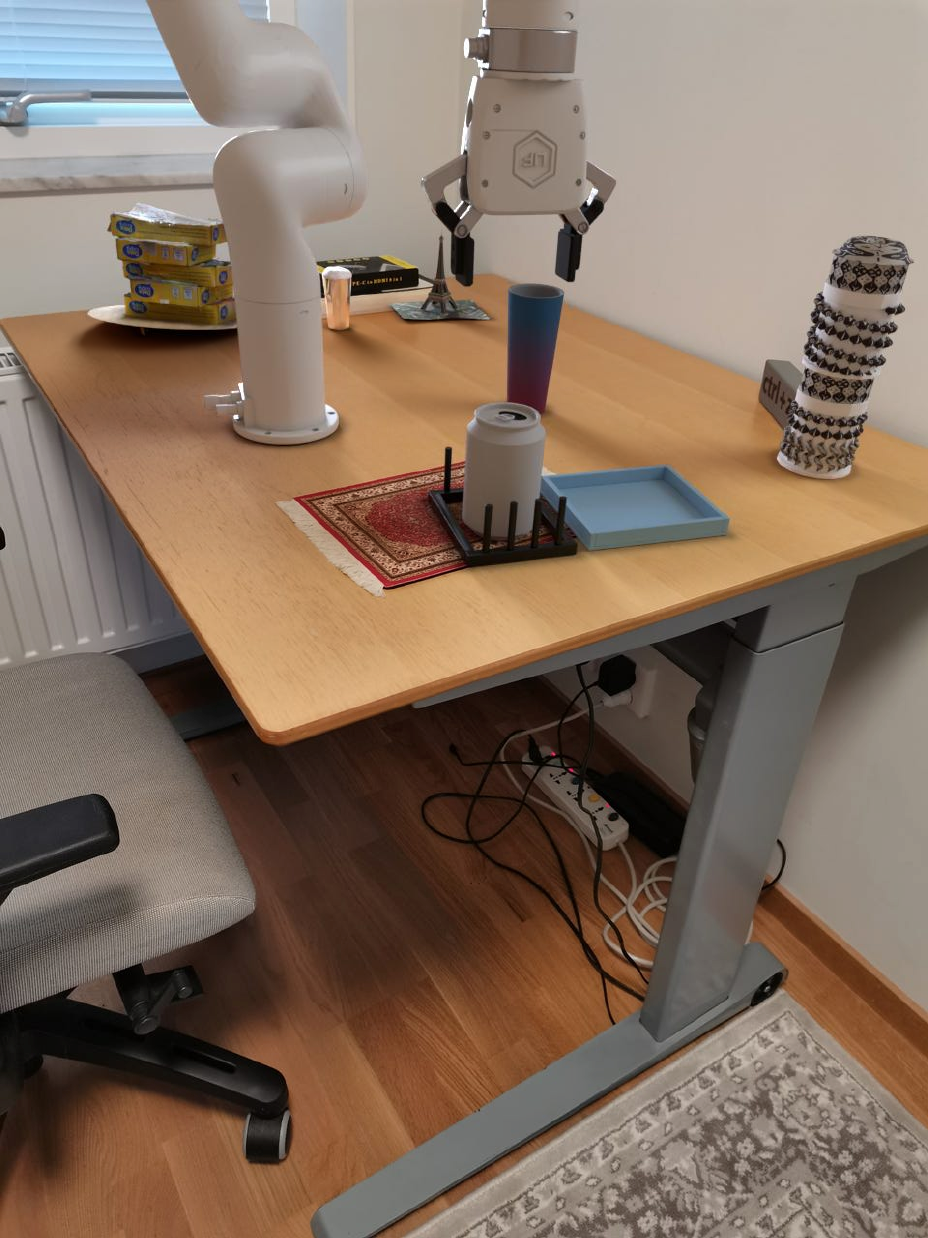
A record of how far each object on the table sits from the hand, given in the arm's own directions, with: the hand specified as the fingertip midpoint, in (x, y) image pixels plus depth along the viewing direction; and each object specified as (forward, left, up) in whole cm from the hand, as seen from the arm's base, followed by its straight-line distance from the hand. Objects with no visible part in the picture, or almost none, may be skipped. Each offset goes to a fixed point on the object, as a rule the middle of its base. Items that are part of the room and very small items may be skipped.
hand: (514, 280), depth 81 cm
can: (-1, -4, -23) cm, 23 cm away
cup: (+13, +26, -23) cm, 37 cm away
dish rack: (-1, -4, -23) cm, 23 cm away
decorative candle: (+41, +3, -23) cm, 47 cm away
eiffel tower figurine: (+14, +71, -23) cm, 76 cm away
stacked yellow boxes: (-29, +68, -23) cm, 78 cm away
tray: (+13, -4, -23) cm, 27 cm away
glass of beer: (-4, +65, -23) cm, 69 cm away
